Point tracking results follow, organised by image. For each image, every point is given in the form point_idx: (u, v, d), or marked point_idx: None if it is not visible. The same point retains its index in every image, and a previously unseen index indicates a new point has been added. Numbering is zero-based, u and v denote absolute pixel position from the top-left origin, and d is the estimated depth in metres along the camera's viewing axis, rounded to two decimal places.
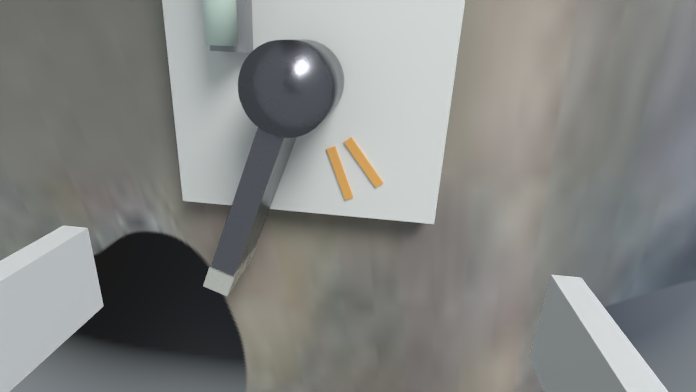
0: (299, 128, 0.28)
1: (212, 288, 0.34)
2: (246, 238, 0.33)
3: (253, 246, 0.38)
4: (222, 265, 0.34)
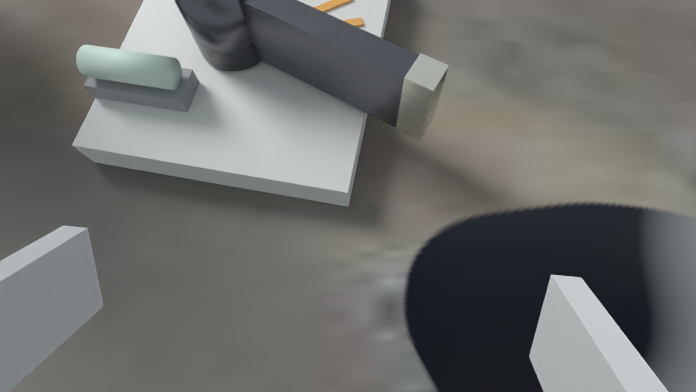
0: None
1: (436, 80, 0.25)
2: (366, 32, 0.27)
3: None
4: (402, 63, 0.26)
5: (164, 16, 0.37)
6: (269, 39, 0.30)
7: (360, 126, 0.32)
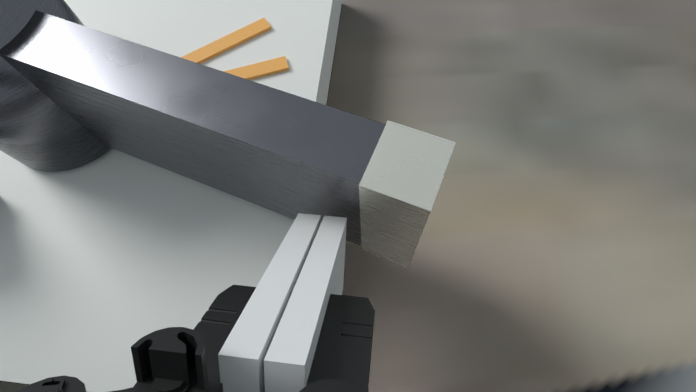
0: None
1: (434, 182, 0.11)
2: (265, 87, 0.13)
3: None
4: (350, 150, 0.12)
5: None
6: (93, 116, 0.16)
7: None
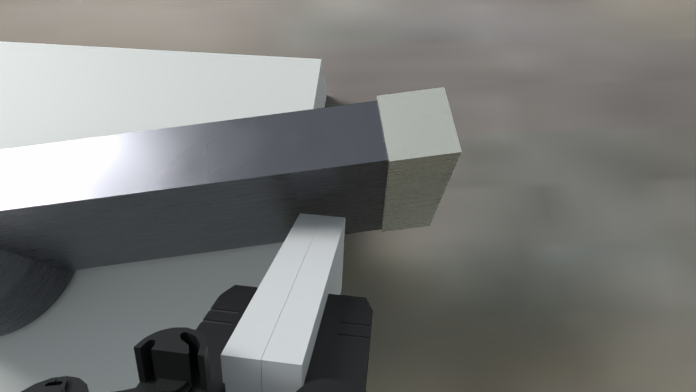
0: None
1: (449, 127, 0.12)
2: (246, 120, 0.12)
3: None
4: (361, 136, 0.12)
5: None
6: (57, 240, 0.14)
7: None
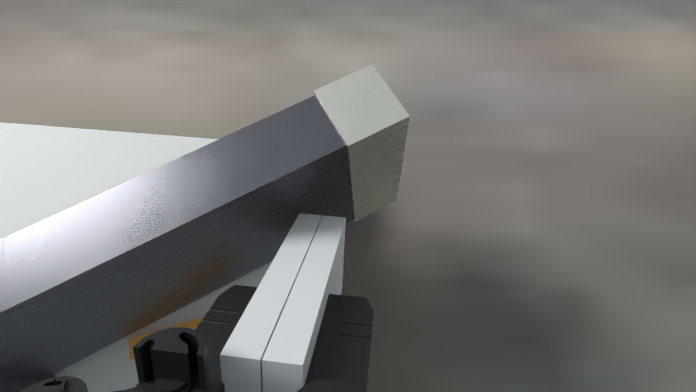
0: None
1: (390, 98, 0.12)
2: (195, 152, 0.12)
3: None
4: (313, 132, 0.12)
5: None
6: (30, 345, 0.12)
7: None
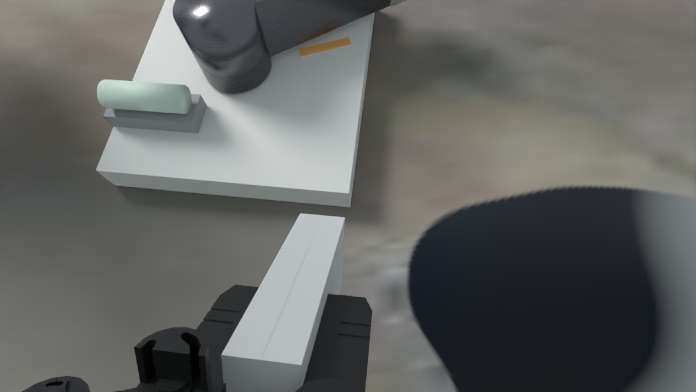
0: None
1: None
2: None
3: None
4: None
5: (170, 49, 0.41)
6: (282, 21, 0.36)
7: (355, 133, 0.36)
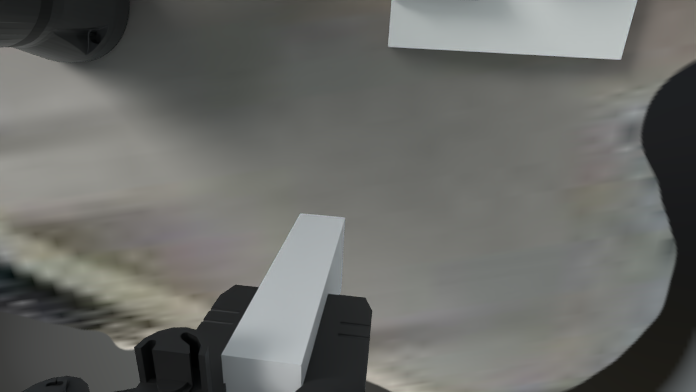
0: None
1: None
2: None
3: None
4: None
5: None
6: None
7: None
